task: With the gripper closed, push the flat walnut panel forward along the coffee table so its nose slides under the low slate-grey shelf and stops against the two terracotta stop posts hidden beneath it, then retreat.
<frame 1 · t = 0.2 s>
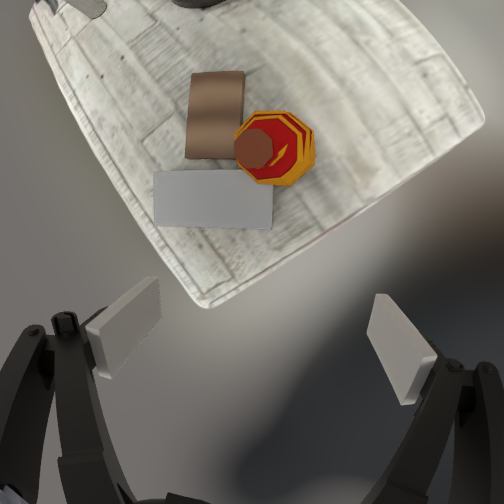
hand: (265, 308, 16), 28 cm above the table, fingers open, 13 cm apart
potion bottle: (286, 147, 38), point 1 cm above the table, touching shelf
panel: (217, 116, 39), on the table
beverage can: (99, 11, 33), on the table
shelf: (221, 195, 42), on the table
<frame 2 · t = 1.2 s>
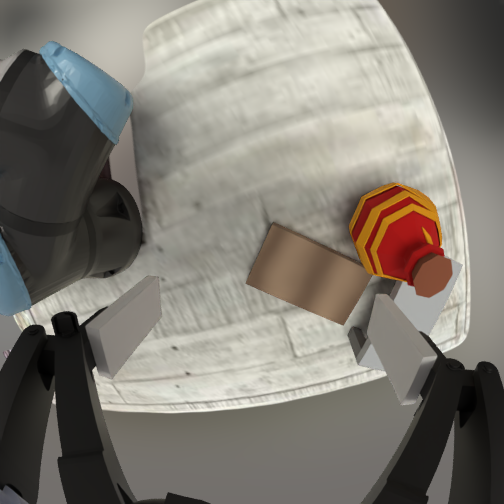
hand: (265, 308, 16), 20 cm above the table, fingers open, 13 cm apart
potion bottle: (376, 209, 31), point 1 cm above the table, touching shelf
panel: (309, 271, 36), on the table
shelf: (393, 294, 34), on the table
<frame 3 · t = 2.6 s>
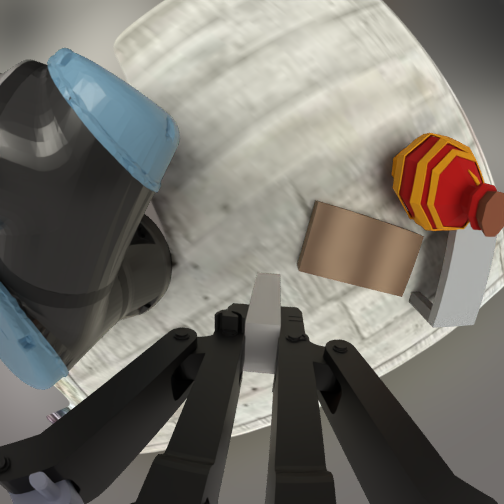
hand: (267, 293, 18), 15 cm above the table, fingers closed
potion bottle: (407, 167, 28), point 1 cm above the table, touching shelf
panel: (358, 246, 32), on the table
shelf: (441, 248, 31), on the table
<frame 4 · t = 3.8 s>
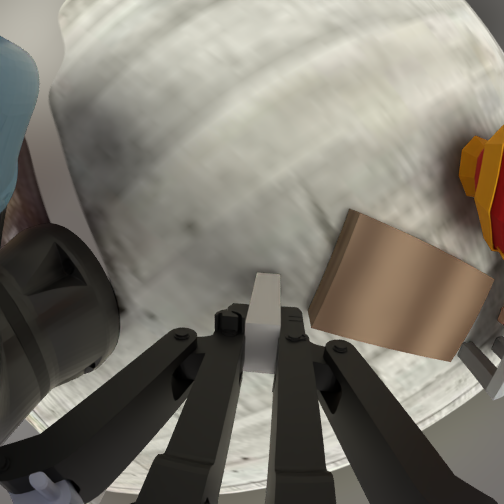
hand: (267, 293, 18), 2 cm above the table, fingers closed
potion bottle: (477, 165, 15), point 1 cm above the table, touching shelf
panel: (404, 287, 19), on the table
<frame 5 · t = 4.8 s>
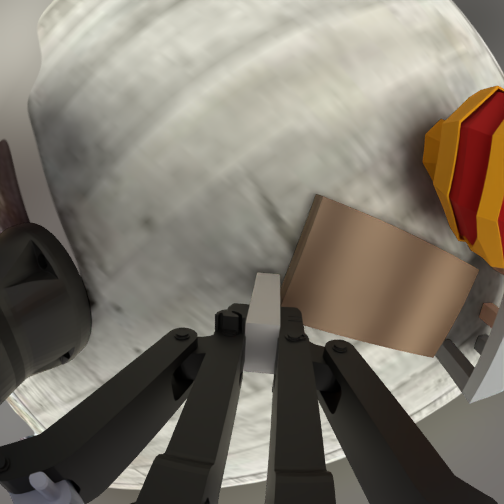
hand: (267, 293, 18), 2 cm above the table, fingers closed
potion bottle: (445, 151, 15), point 1 cm above the table, touching shelf
panel: (379, 278, 19), on the table, touching gripper
shelf: (484, 276, 18), on the table
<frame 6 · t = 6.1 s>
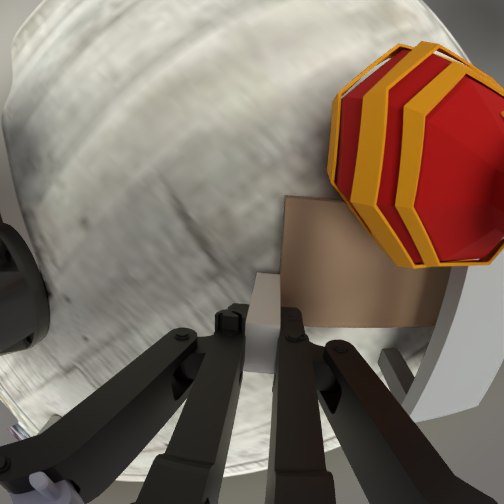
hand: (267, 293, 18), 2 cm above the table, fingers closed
potion bottle: (373, 137, 15), point 1 cm above the table, touching shelf
panel: (374, 259, 19), on the table
shelf: (438, 279, 18), on the table
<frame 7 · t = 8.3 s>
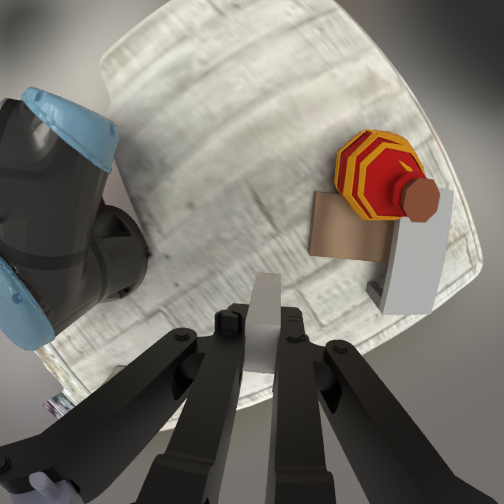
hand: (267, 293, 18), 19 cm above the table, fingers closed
potion bottle: (357, 163, 32), point 1 cm above the table, touching shelf
panel: (360, 226, 35), on the table
shelf: (397, 239, 35), on the table
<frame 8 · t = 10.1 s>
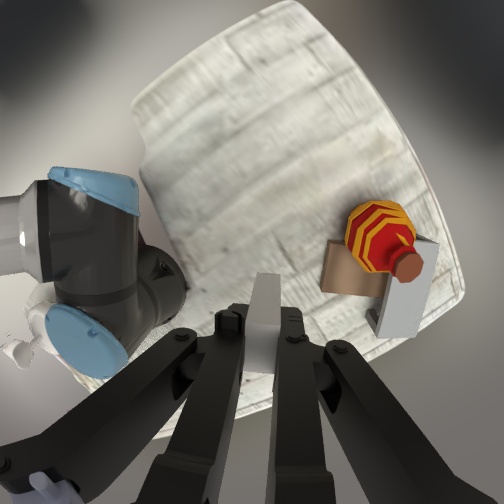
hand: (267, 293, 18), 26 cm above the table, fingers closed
potted plant: (67, 313, 53), on the table
potion bottle: (363, 218, 41), point 1 cm above the table, touching shelf
panel: (362, 267, 44), on the table
shelf: (392, 276, 43), on the table
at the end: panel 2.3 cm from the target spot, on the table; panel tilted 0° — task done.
